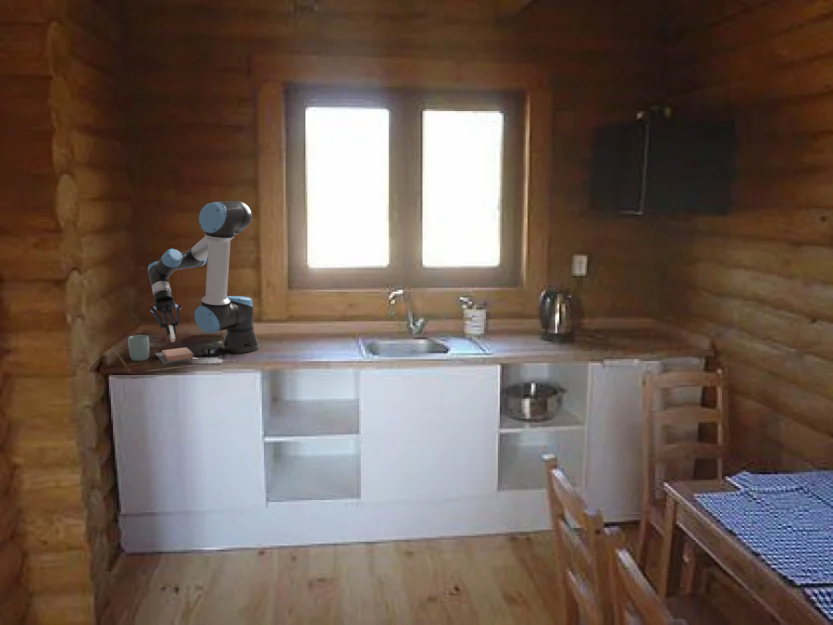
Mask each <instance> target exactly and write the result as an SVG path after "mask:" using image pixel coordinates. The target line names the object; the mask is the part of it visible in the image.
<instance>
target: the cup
mask: <svg viewBox="0 0 833 625" xmlns="http://www.w3.org/2000/svg"><path fill="white" fill-rule="evenodd" d="M149 338H150V337H149V336H148V334H147V335H146V334H135V335H131V336H128V337H127V342H128V343H127V344H128V353H129V356H130V359H131V360H132V361H133V362H140V361H146V360H148V359H149V357H150V339H149Z"/></svg>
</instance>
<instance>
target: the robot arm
mask: <svg viewBox="0 0 833 625" xmlns="http://www.w3.org/2000/svg"><path fill="white" fill-rule="evenodd" d="M252 218H253V215H252V210H251V209H250V207H249V206H248V205H247V204H246V203H244V201H240V200H231V201H214V202H210V203H207V204H205V205H204V206H203V207H202V208H201V210H200V212H199V216H198V219H199V220H198V222H199V225H201V226H200V227H201V230H202V231H203V232H204V237H203V238H202V239H200V240H199V241H198V242H197V243H196V244H195V245H193V246H192V247H191V248H189V249H188V250H187V251H179V250H178V249H175V248H169V249H167V250H166V251H165V252H164V253H163V254H162V256H161V257H160V258H159V259H158V261H153V262H152V263H149V265H148V267H147V271H148V273H147V274H148V277H149V278H148V279H149V282H150V286H151V291H152V295H153V299H154V300H153V301H154V306H151V307H150V311H149V312H150V313H151V314H152V315H153V317H154V318H155V320H156V322H157V324H158V326H159V327H160V329H164V330H165V332H166V335H169V339H170V342H171V343H174V342H176V333H177V328H176V327H179V325H180V324H179V323H180V311H181V309H182V304H176V302H175V300H174V296H173V294H172V289H171V285H170V281H169V280H170V279H169V278H170V277H171V275H172V274H174V272H175V271H179V270H180V271H181V270H185V269H187V270H188V269H193V268H194V269H195V268H199V267H203V266H205V264H206V276H205V278H206V281H205V284H206V285H205V295H204V296H203V297H202V298H201V300H200V306H198V307H197V308H196V309H195V310H194V320H195V323H196V325H197V326H198V328H199V329H200V330H201V331H202V332H204V333H206V334H212V333H213V334H216V333H218V332H221V331H225V336H224V339H223V343H222V349H223V351H225V352H226V353H230V354H232V353H233V354H243V353H250V352H254V351H256V350H258V349H259V348H260V347H259V341H258V339H257V336H256V333H255V329H254V327H255V326H254V324H255V322H254V305H253V299H252V298H251V297H249V296H239V295H235V296H234V295H228V285H229V284H228V283H229V269H230V268H229V267H230V255H231V254H230V252H231V241H232V240H233V239H234V238H235V235H239V234H242V233H243V232H244V231H246V229H247V228H249V226H250V225H251V222H252V221H253V219H252ZM174 309H175V311H176V312H175V318H174V315H173V311H174ZM159 312H160V313H161V316H162V318H161V316H160V314H159ZM168 319H169V321H168ZM169 322H170V325H169Z"/></svg>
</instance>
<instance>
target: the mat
mask: <svg viewBox="0 0 833 625" xmlns="http://www.w3.org/2000/svg"><path fill="white" fill-rule="evenodd" d="M154 354H155V355H156V357H157V358H158V359H159V360H160V361H161V363H163V364H164V365H165V364H170V363H171V364H172V363H178V362H179V363H180V362H188V361H190V360H189V359H185V360H177V361H167V360H166V359H165V357H164V356H163V355H162V352H155V353H154Z"/></svg>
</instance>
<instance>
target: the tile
mask: <svg viewBox="0 0 833 625" xmlns="http://www.w3.org/2000/svg"><path fill="white" fill-rule="evenodd" d="M161 353H162V355H163V356H164V357H165V359H166V360H167V361H177V360H185V359H192V358H193V354H194V353H193V351H192V350H190V349H189V348H188V347H179V348H170V349H163V350H161Z"/></svg>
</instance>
